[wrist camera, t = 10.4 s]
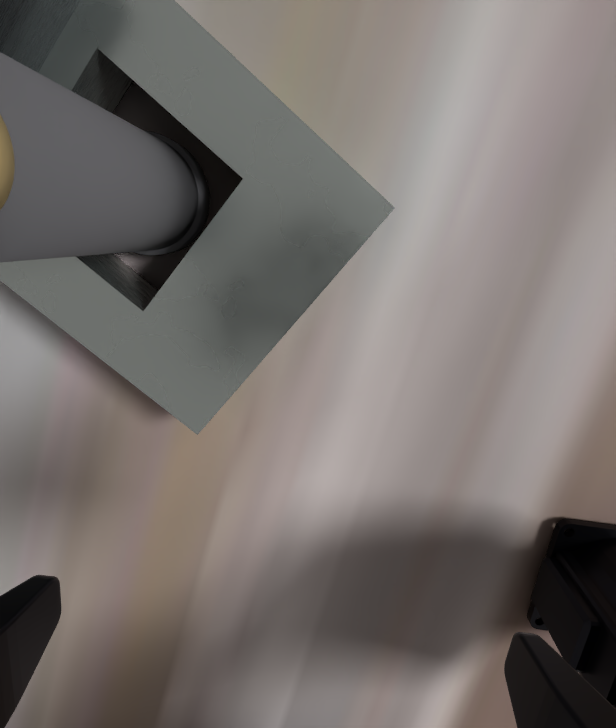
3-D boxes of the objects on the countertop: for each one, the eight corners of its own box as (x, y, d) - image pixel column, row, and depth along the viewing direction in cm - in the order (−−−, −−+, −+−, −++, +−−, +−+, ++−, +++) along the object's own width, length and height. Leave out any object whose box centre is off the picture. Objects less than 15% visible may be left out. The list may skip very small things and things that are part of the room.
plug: (186, 119, 19) (-120, -120, 6) (224, 235, 20) (34, 237, 7) (82, 156, 19) (-390, 9, 7) (125, 267, 20) (-208, 317, 8)
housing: (385, 211, 19) (407, 201, 13) (215, 408, 22) (173, 470, 16) (72, -81, 17) (-64, -246, 11) (-71, 181, 20) (-237, 158, 14)
